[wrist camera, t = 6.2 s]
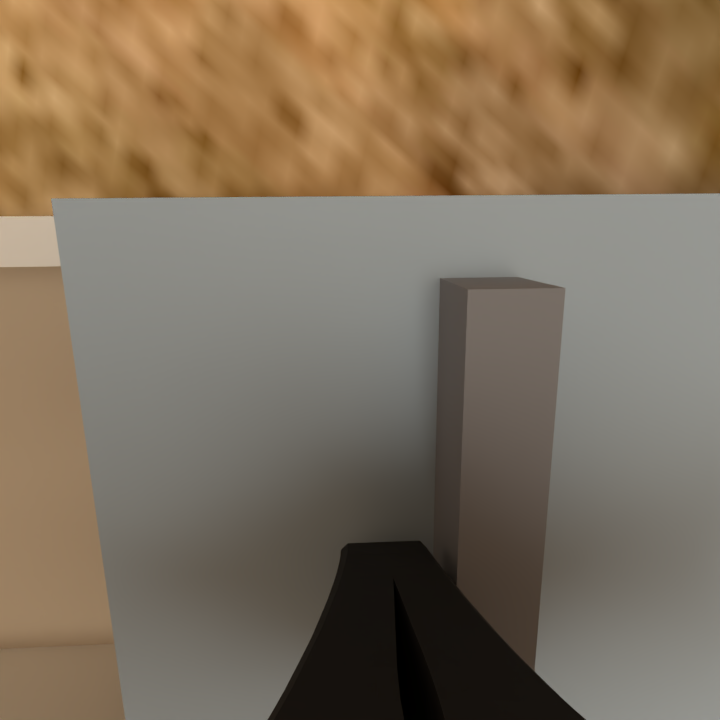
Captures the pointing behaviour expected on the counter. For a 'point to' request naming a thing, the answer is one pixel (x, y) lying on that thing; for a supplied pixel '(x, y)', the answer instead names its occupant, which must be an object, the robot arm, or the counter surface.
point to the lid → (403, 430)
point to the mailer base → (47, 501)
